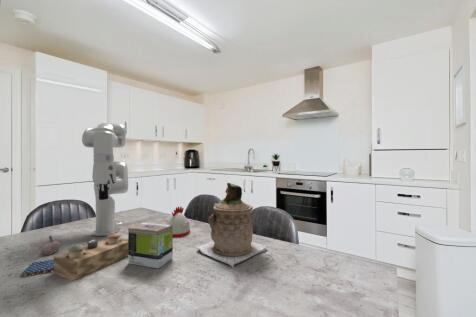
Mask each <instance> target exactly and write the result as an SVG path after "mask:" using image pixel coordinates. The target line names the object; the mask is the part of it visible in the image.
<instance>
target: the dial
mask: <svg viewBox="0 0 476 317" xmlns="http://www.w3.org/2000/svg"><path fill="white" fill-rule="evenodd" d="M98 242H99V240H98V239H90V240H88V241H87V245H86V246H87V248H88V249H93V248H96V247H98Z"/></svg>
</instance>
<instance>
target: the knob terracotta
mask: <svg viewBox="0 0 476 317" xmlns="http://www.w3.org/2000/svg"><path fill="white" fill-rule="evenodd" d="M120 235H121V234H120V233H117V232H116V233H114V234H110V235H106V239H108V244H109V245H113V244H116V243H119V238H121V237H120Z"/></svg>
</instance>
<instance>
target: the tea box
mask: <svg viewBox="0 0 476 317" xmlns="http://www.w3.org/2000/svg"><path fill="white" fill-rule="evenodd" d="M127 229H128V232H127V234H128V236H127V237H128V238H127V240H128V256H127V257H128V260H127V261H128V263H129V264H132V265H137V266H138V265H139V266H143V267H148V268H153V269H160V268H162V267H163V266H164V265H165V264H167V263H168V262H170V261H171V260H173V258H174V257H173V256H174V255H173V254H174V253H173V252H174V251H173V250H174V247H173V243H174V242H173V241H174V239H173V238H174V237H173V231H172V225H171V224H167V223H159V222H146V221H145V222H141V223H139V224H137V225H136V224H135V225H133V226H130V227H128V228H127Z"/></svg>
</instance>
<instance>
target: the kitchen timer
mask: <svg viewBox="0 0 476 317" xmlns="http://www.w3.org/2000/svg"><path fill="white" fill-rule="evenodd" d="M183 212H184V208H183V206H177V207H175V209H173V212H172V211H171V216H170V217H169V218H168V220H167V221H166V224H171V225H172V231H173V238H179V237H185V236H188V235H190V234H191V226H190V222H189V220H188V219H187V217H186V216H185V215H184V214H183Z"/></svg>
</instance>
